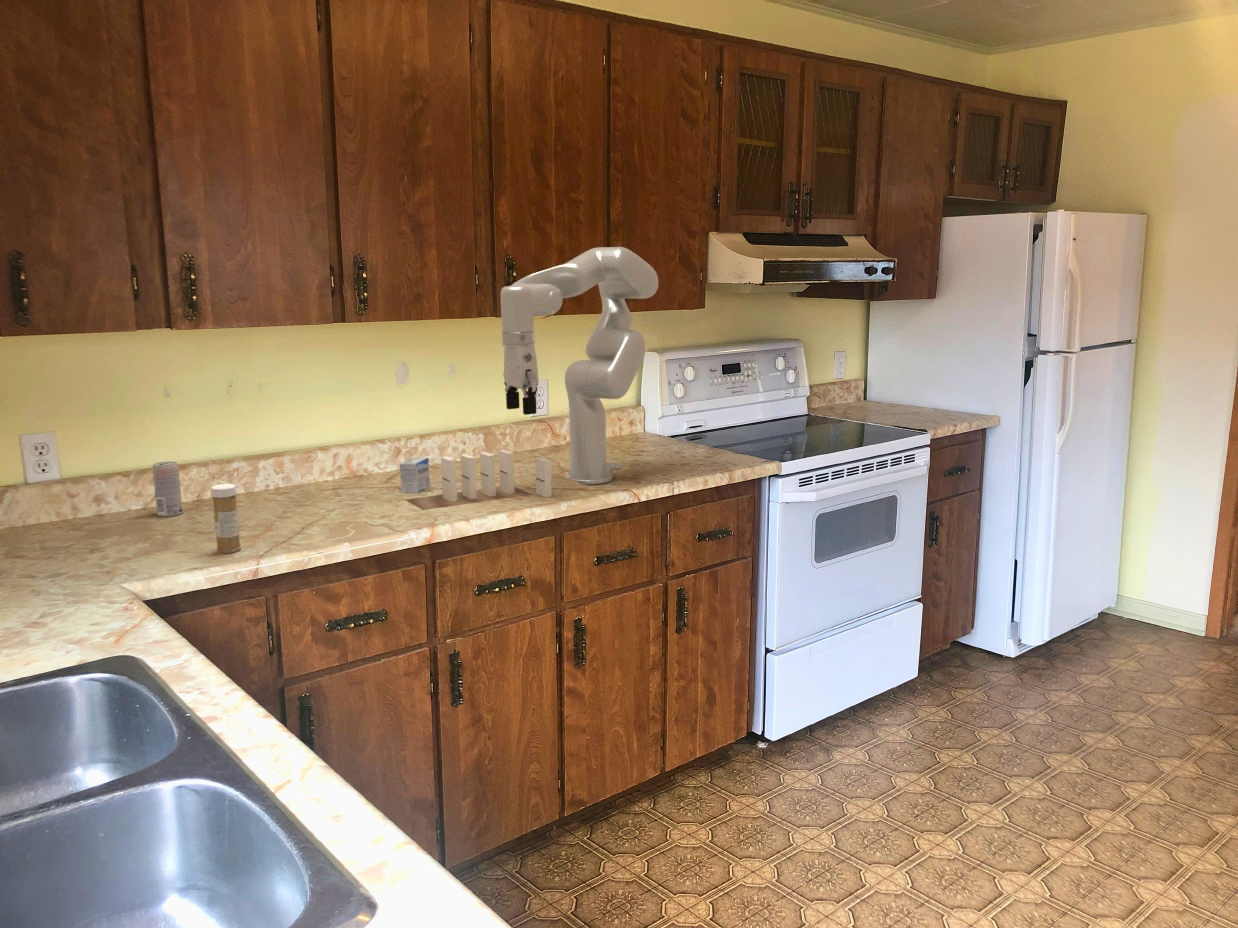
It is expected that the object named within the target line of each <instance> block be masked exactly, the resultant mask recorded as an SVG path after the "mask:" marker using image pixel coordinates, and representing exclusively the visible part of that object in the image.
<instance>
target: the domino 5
mask: <svg viewBox="0 0 1238 928" xmlns="http://www.w3.org/2000/svg"><path fill="white" fill-rule="evenodd" d="M534 459H535V461H534V463H535V465H534V466H535V494H537V495H540V496H542V497H544V498H550V497H552V463H551V462H552V460H550V459H547V458H544V457H541V456H540V457H535V458H534Z"/></svg>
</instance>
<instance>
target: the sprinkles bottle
mask: <svg viewBox="0 0 1238 928" xmlns="http://www.w3.org/2000/svg"><path fill="white" fill-rule="evenodd" d="M210 493H211V494H210V495H211V498H212V503H213V515H214V517H213V518H214V519H213V520H214V529H215V531H214V532H215V537H216V545H217V546H216V547H217V548H216V551H217V553H219V554H232V553H237V552H239V551H241V549H242V546H241V545H240V544H241V541H240V526H239V516H238V515H239V514H238V507H237V498H236V497H237V486H236V485H235V484H233V483H221V484H215V485H212V486H211V487H210Z"/></svg>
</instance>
